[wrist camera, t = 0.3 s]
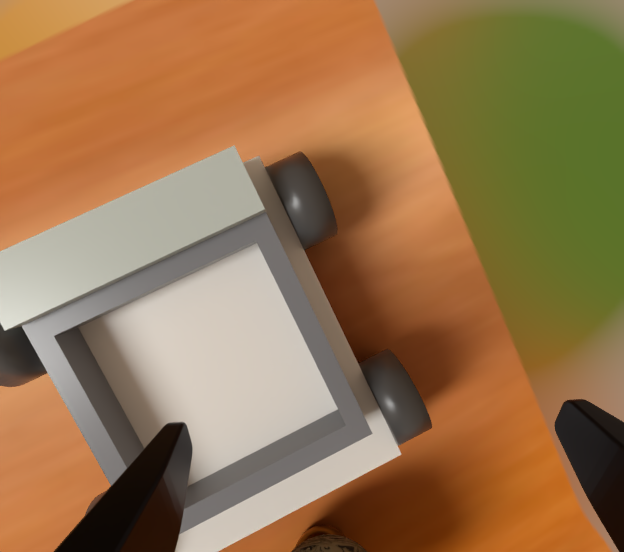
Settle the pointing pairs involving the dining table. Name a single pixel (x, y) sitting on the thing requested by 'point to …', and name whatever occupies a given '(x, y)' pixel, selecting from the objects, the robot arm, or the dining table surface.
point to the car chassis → (207, 342)
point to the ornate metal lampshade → (326, 541)
